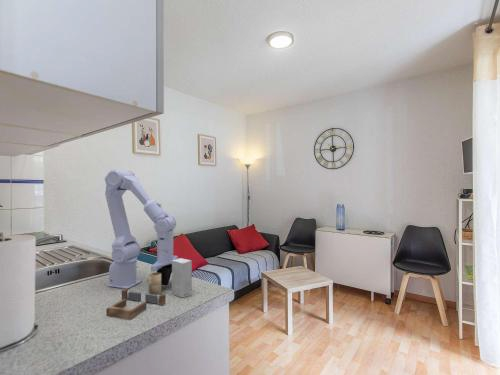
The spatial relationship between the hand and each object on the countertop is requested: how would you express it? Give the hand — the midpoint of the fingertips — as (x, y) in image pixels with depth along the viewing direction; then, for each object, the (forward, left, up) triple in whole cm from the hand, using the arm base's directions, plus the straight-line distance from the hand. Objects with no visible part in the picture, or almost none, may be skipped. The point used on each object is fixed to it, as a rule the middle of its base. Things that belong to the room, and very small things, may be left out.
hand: (165, 284), depth 99 cm
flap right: (+4, -12, -1) cm, 13 cm away
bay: (0, -19, -1) cm, 19 cm away
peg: (0, -6, -1) cm, 6 cm away
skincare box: (+9, -3, -1) cm, 10 cm away
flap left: (-4, -12, -1) cm, 13 cm away
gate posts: (0, -12, -1) cm, 13 cm away
